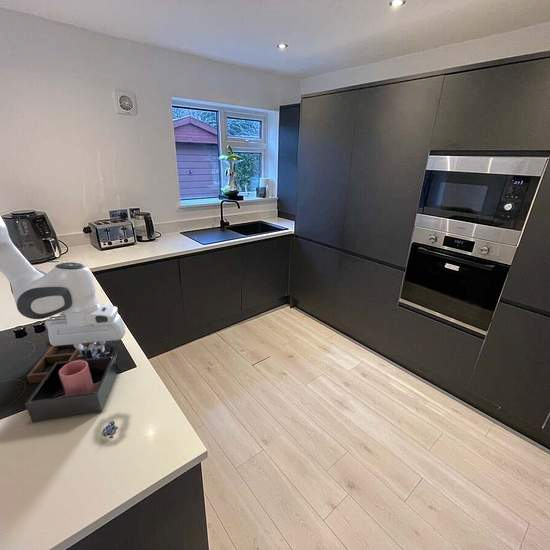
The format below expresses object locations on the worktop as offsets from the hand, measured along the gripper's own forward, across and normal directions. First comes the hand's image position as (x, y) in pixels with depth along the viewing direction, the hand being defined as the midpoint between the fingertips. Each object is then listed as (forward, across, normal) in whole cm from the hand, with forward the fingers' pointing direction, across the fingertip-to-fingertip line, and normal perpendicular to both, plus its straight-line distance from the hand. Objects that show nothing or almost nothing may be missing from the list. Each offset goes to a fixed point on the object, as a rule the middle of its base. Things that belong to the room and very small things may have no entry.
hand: (93, 352), depth 91 cm
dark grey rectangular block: (+1, 0, 0) cm, 1 cm away
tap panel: (+4, 0, 0) cm, 4 cm away
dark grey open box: (+4, +1, -15) cm, 16 cm away
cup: (+3, +1, -15) cm, 15 cm away
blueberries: (+4, +13, -29) cm, 32 cm away
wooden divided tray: (+4, -10, +1) cm, 11 cm away
